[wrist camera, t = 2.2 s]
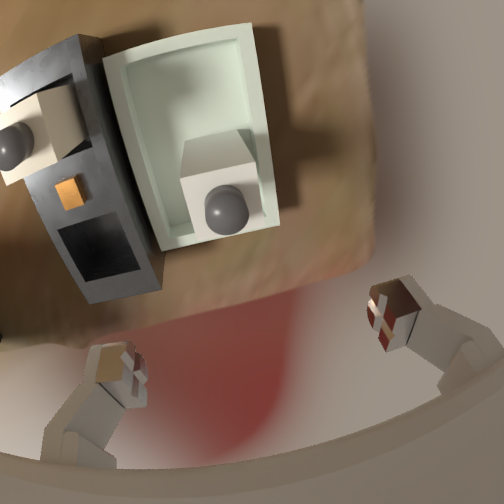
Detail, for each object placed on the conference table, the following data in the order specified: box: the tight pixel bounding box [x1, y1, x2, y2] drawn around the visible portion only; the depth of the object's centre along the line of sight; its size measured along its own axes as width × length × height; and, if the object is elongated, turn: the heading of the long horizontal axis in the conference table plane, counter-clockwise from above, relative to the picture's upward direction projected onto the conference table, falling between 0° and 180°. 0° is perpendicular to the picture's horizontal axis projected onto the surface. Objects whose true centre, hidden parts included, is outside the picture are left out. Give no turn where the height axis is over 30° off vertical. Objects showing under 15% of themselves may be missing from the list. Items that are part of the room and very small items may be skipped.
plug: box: [180, 129, 265, 241], centre depth 19 cm, size 4×4×10 cm
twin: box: [0, 83, 89, 185], centre depth 14 cm, size 4×4×10 cm
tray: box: [102, 23, 280, 251], centre depth 21 cm, size 16×10×3 cm, turn 8°
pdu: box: [0, 34, 165, 304], centre depth 19 cm, size 20×7×6 cm, turn 9°
